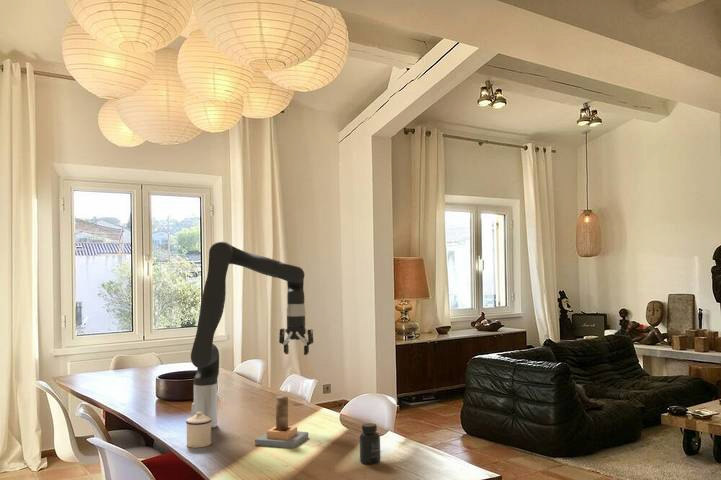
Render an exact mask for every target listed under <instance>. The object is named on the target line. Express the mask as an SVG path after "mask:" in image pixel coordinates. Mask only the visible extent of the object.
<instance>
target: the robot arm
mask: <svg viewBox="0 0 721 480" xmlns="http://www.w3.org/2000/svg"><path fill="white" fill-rule="evenodd" d="M229 265H236V266H239V267H244V268H245V269H247V270H248V269H249V270H251V271H254V272H256V273H259V274H261V275H266V276H267V277H272V278H275V279H277V278H278V279H280V280H283V281H286V282H287V297H286V299H287V302H286V303H287V304H286V305H287V307H286V328H280V329H279V334H278V335H279V336H278V337H279V338H278V339H279V340H278V342H279V344H282V345H283V354H285V355H289V353H290V352H289V351H290V349H289V343H290V342H291V340H292V341H293V340H296V341H299V340H300V341H301V343H302V344H303V345H304V346H303V356H307V355H308V354H309V353H310V350H309V349H310V345H313V343H314V332H313V331H314V330H313V329H312V328H309V329H306V306H305V305H306V304H305V291H304V280H305V272H304V270H303V269H302V267H300V266H297V265H293V264H288V263H284V262H282V261H279V260H277V259H274V258H270V257H267V256H264V255H263V256H262V255H258V254H254V253H250V252H248V251H244V250H243V249H240V248H237V247H235V246H233V245H231V244H230V243H228V242H227V241H217V242H214V243H213V244H212V245H211V246H210V248H209V250H208V266H207V267H208V268H207V275H206V280H205V283H204V287H203V291H202V296H201V300H200V301H201V302H200V306H199V307H200V308H199V315H198V320H197V327H196V334H195V337H194V341H193V344H192V349H191V352H190V361H191V363H192V365H193V366H194V367H195V368H197V370H196V373H195V375H194V377H193V402H192V403H191V417H193V416H194V415H196V413H197V412H202V414H203V415H205V416H208V417H210V418H211V419H212V421H211V429H213V428H216V427H217V426H218V378H219V375H220V374H219V373H220V352H219V349H218V347H217V346H216V345H215V344H214V336H215V333H216V330H217V328H218V326H219V324H220V322H221V319H222V316H223V313H224V309H225V303H226V292H227V291H226V288H227V287H226V279H227V278H226V277H227V274H228V273H227V272H228V270H229V269H228V268H229ZM285 334H287V336H286V335H285ZM305 335H307V337H306V336H305ZM285 337H286V338H285Z"/></svg>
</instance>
